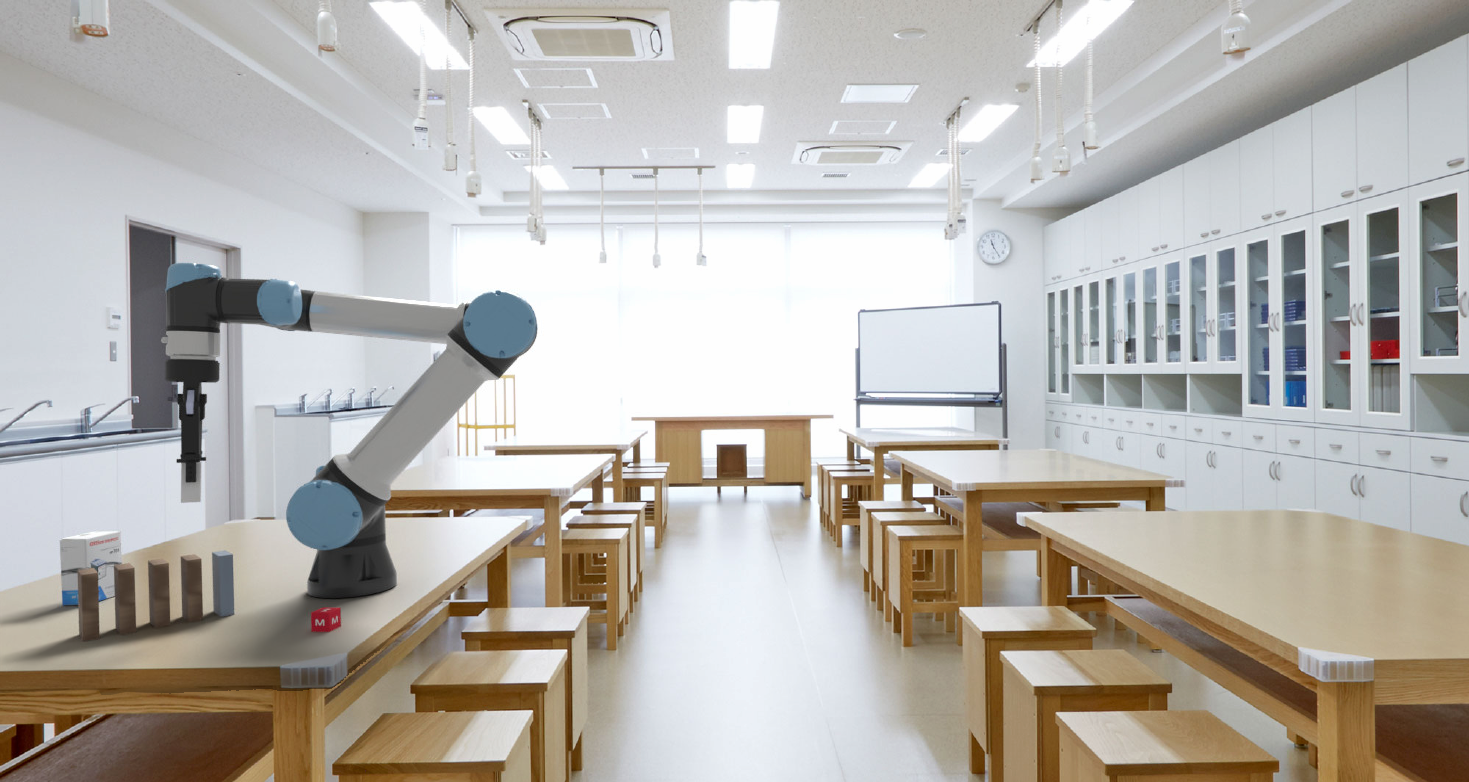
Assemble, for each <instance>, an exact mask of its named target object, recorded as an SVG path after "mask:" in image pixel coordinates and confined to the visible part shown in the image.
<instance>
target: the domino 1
mask: <svg viewBox="0 0 1469 782" xmlns="http://www.w3.org/2000/svg"><path fill="white" fill-rule="evenodd" d="M135 572H136V571H135V567H134V566H133V565H132V564H131V563H130V562H128V563H122V564H119V565H114V589H115V596H114V611H115V612H114V614H115V615H114V616H115V618H114V619H115V621H114V623H115V629H116V631H117V633H119V635H120V634H122V635H127V634H133V633H136V632H137V613H136V612H137V611H136V610H137V609H136V608H137V606H136V579H135V577H136V573H135Z"/></svg>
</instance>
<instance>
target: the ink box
mask: <svg viewBox="0 0 1469 782" xmlns="http://www.w3.org/2000/svg"><path fill="white" fill-rule="evenodd" d="M59 553H60V554H59V555H60V574H61V575H60V579H61V582H60V583H61V600H62V601H61V602H62V603H61V604H62V606H78V571H77V570H81V569H89V568H94V569H95V570H96V571H97V572H98V592H99V602H100V601H103V600H108V599H110V598H112V597H115V589H114V565H119V564H123V558H122V557H123V555H122V535H121V531H120V530H118V531H117V530H115V531H114V530H113V531H110V530H109V531H108V530H107V531H106V530H105V531H104V530H103V531H102V530H101V531H100V530H99V531H96V530H95V531H90V532H86V533H81V534H77V535H72V536H67V537H63V538H61V539H60V540H59Z"/></svg>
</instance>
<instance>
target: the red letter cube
mask: <svg viewBox="0 0 1469 782" xmlns="http://www.w3.org/2000/svg"><path fill="white" fill-rule="evenodd" d="M341 611H342V610H341V607H330V606H329V607H328V606H327V607H324V606H323V607H321V608H318V609H316V610H314V611H311V612H310V620H311V621H310V623H311V624H310V625H311V626H310V627H311V628H310V631H311V632H313V633H314V632H316V633H317V632H318V633H319V632H321V633H329V632H333V631H334V630H336V629H338V628H340V627H342V618H341V617H342V615H341Z"/></svg>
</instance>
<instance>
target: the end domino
mask: <svg viewBox="0 0 1469 782" xmlns="http://www.w3.org/2000/svg"><path fill="white" fill-rule="evenodd" d="M77 571H78V605H77V607H78V632H79V633H78V635H79V637H80V639H81V640H82V642H88V641H93V640H99V639H100V638H101V637H100V634H101V633H100V604H99V603H100V601H99V592H98V572H97V571H96V570H95V569H94V568H89V569H81V570H77Z"/></svg>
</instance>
